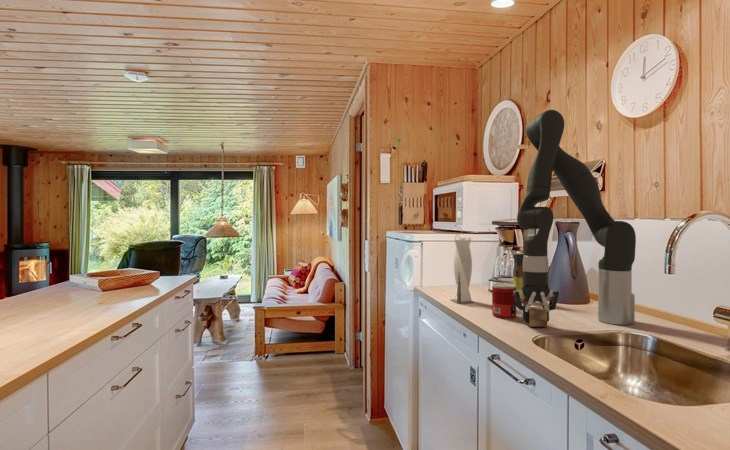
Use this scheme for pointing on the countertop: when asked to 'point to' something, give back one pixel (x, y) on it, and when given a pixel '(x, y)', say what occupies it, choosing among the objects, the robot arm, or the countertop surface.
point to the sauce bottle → (518, 273)
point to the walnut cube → (537, 317)
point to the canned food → (503, 301)
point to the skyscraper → (462, 270)
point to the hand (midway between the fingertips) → (535, 322)
